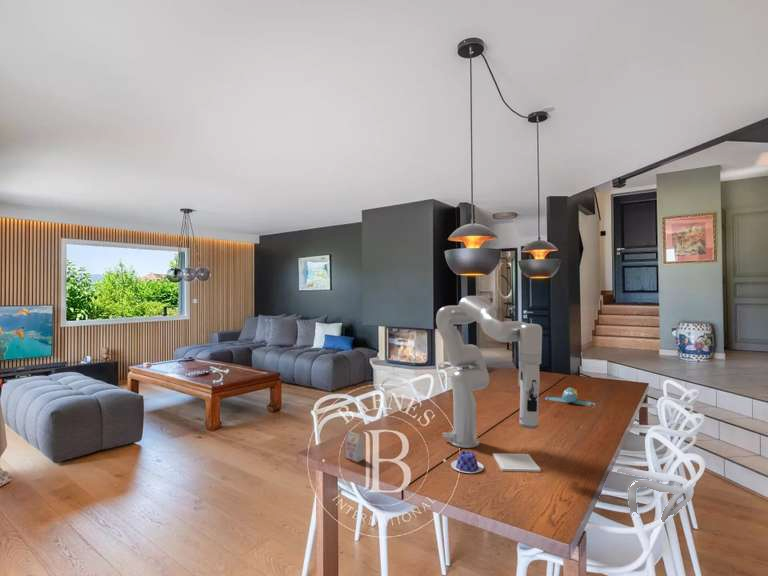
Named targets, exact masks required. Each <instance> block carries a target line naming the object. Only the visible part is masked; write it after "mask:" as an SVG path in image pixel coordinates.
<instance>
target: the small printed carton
mask: <svg viewBox="0 0 768 576" xmlns="http://www.w3.org/2000/svg"><path fill="white" fill-rule="evenodd" d="M346 433H347V434H346V436H345V440H344V458H345V459H347V460H350V461H352V462H354V463H359V462H362V461H363V460H364V453H365V452H364V442H363V440H362V436H361V434H358V433H355V432H353V431H350V430H348V431H347V432H346Z"/></svg>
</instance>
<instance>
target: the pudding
mask: <svg viewBox="0 0 768 576" xmlns="http://www.w3.org/2000/svg"><path fill="white" fill-rule="evenodd" d="M458 454H459V455H458V457H457V459H456V460H453V461H452V462H451V463H450V467H451V468H452V469H454V470H455V471H458V472H460V473H466V474H475V473H480V472H482V471H483V470H484V465H483V464H482V463H481V462H479V461H477V456H476V454H475V453H474V452H472V451H469V450H463V451H461V452H459V453H458ZM460 470H462V471H460Z"/></svg>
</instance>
